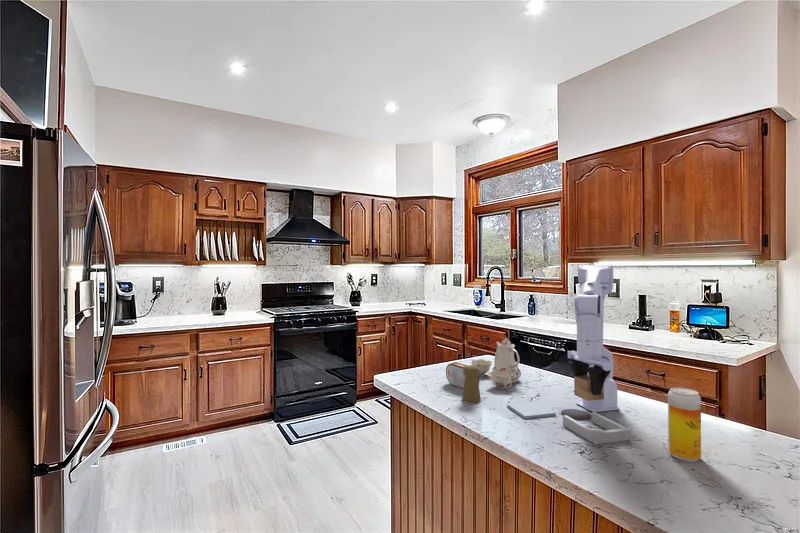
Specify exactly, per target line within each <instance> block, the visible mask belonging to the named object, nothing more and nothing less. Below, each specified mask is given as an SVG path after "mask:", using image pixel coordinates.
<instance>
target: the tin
mask: <svg viewBox="0 0 800 533" xmlns="http://www.w3.org/2000/svg"><path fill="white" fill-rule="evenodd" d="M465 366H469V365H467V364H464V363H461V362H457V361H454V362H452V363H448V364H447V366H446V368H445V374H446V379H447V381H448V383H449V384H450V385H452V386H453V387H456V388H459V389H462V390H463V388H464V380H465V375H464V373H463V369H464V367H465ZM478 383H479V384H480V377H479V375H478Z"/></svg>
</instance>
